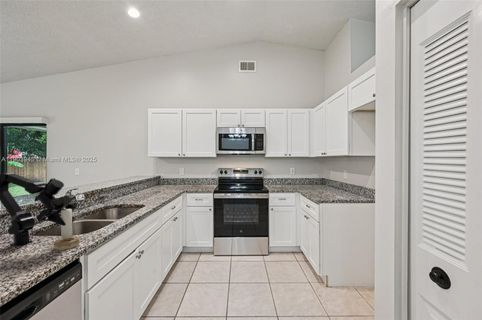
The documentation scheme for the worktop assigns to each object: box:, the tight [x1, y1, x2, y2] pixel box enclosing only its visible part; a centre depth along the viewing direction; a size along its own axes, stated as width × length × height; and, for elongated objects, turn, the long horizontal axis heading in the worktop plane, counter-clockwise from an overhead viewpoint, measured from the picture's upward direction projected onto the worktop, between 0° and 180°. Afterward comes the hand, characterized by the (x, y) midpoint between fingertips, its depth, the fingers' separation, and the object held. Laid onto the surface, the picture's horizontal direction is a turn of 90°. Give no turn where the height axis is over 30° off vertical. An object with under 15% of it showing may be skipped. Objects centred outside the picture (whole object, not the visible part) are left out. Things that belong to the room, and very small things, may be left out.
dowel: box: [60, 209, 73, 239], centre depth 123 cm, size 4×4×14 cm
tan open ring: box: [53, 235, 80, 251], centre depth 124 cm, size 10×10×3 cm
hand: (68, 223), depth 123 cm, fingers closed on dowel, 4 cm apart
